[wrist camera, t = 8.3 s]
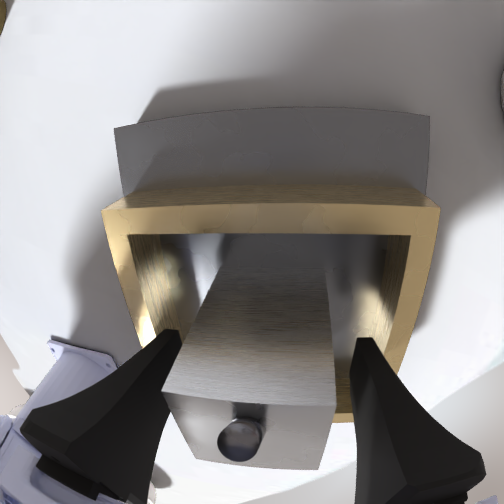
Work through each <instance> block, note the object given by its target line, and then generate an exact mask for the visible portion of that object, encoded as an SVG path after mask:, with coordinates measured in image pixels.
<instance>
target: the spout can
mask: <svg viewBox="0 0 504 504" xmlns="http://www.w3.org/2000/svg"><path fill="white" fill-rule="evenodd" d="M161 392H162V394H163V396H164V398H165V400H166V402H167V404H168V407H169V409H170V411H171V413H172V415H173V417H174V419H175V421H176V423H177V425H178V427H179V429H180V431H181V433H182V434H183V436H184V438H185V440H186V442H187V444H188V446H189V447H190V449H191V451H192V453H193V455H194V456H195V458H196V459H200V460H206V461H211V462H218V463H224V464H232V465H240V466H249V467H259V468H272V469H293V470H318V468H319V465H320V462H321V459H322V456H323V452H324V449H325V446H326V442H327V439H328V435H329V432H330V428H331V425H332V421H333V417H334V413H335V409H336V385H335V369H334V355H333V342H332V331H331V320H330V310H329V301H328V292H327V283H326V275H325V268H261V267H220V268H219V270H218V272H217V274H216V276H215V278H214V280H213V282H212V284H211V287H210V289H209V291H208V293H207V295H206V297H205V299H204V301H203V303H202V305H201V307H200V309H199V311H198V313H197V316H196V318H195V320H194V322H193V324H192V326H191V328H190V330H189V332H188V334H187V337H186V339H185V341H184V343H183V345H182V347H181V349H180V351H179V354H178V356H177V358H176V360H175V362H174V364H173V366H172V369H171V371H170V373H169V375H168V377H167V379H166V382H165V384H164V386H163V388H162V390H161Z"/></svg>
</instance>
